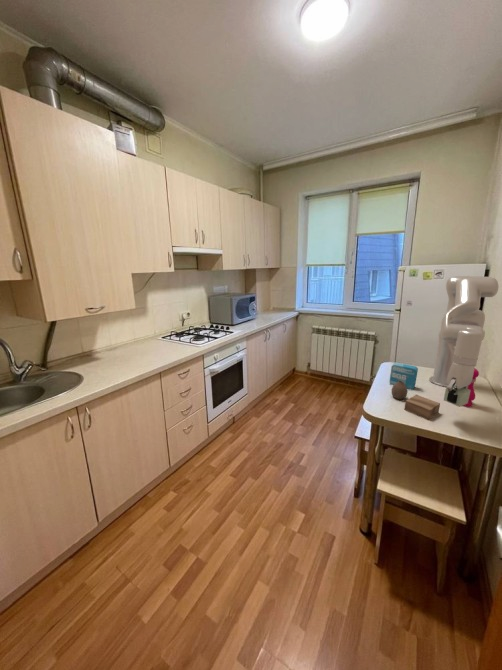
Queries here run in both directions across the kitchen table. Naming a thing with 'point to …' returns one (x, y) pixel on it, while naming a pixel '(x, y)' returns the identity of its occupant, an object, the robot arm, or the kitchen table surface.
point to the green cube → (459, 396)
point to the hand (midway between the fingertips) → (455, 399)
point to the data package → (403, 374)
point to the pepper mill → (470, 387)
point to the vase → (399, 390)
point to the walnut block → (422, 407)
